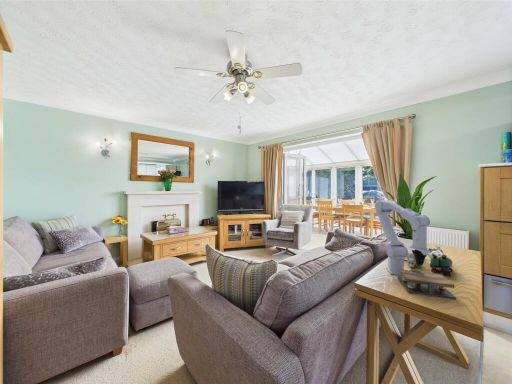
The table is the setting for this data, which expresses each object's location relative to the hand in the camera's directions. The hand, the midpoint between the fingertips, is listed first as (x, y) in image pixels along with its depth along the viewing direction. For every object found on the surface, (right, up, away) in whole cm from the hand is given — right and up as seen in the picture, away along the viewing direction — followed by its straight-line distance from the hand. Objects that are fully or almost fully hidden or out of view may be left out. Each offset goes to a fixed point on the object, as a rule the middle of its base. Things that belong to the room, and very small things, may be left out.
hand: (419, 264), depth 104 cm
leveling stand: (0, -11, -3) cm, 11 cm away
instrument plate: (0, -6, -3) cm, 7 cm away
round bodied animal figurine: (+16, -10, +25) cm, 31 cm away
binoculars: (+23, -10, +13) cm, 28 cm away
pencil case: (+34, -10, +26) cm, 44 cm away
